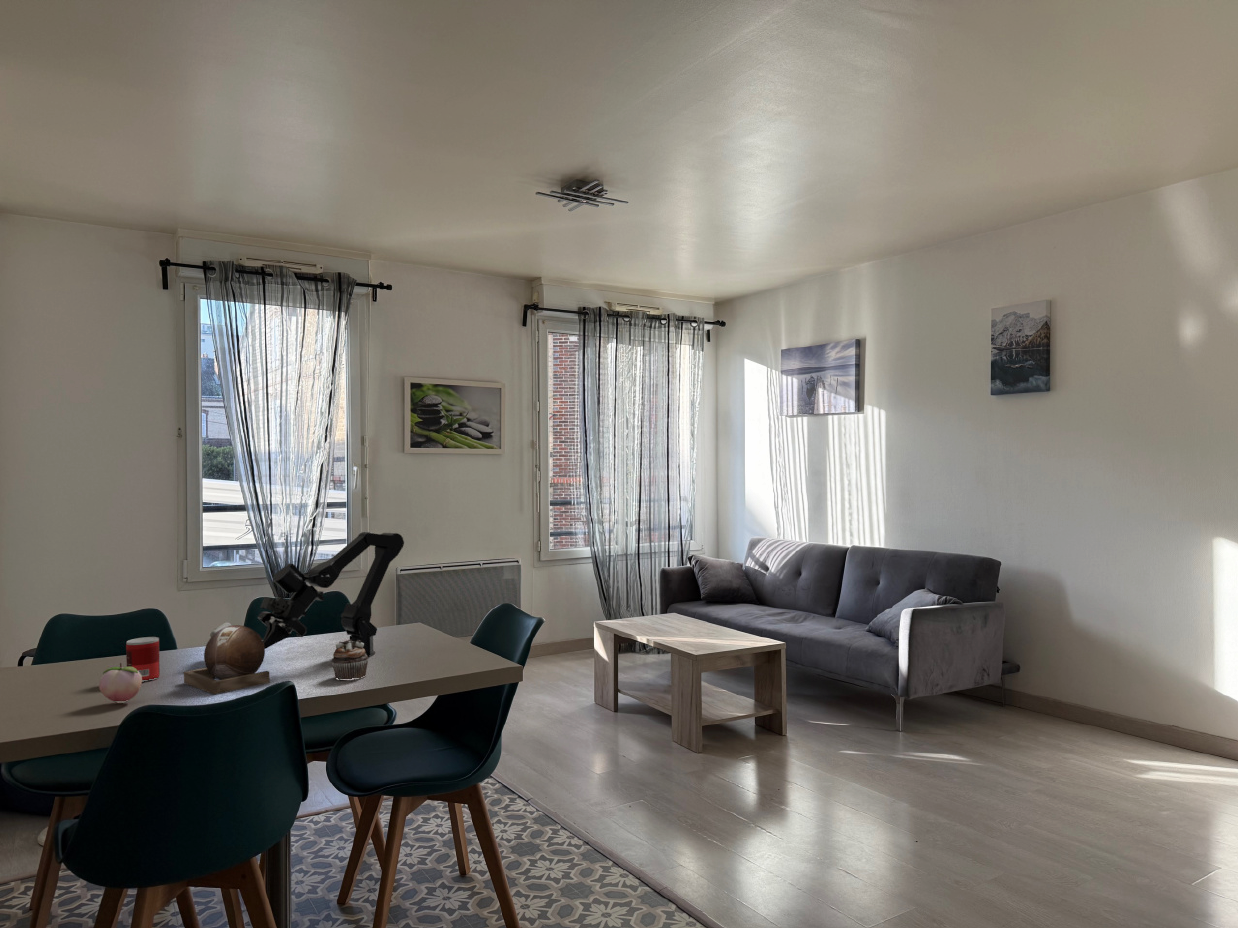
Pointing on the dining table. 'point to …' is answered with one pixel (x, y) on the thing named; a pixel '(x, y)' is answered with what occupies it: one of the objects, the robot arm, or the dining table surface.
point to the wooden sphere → (234, 652)
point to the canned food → (144, 656)
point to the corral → (223, 681)
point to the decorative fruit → (120, 683)
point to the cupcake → (350, 660)
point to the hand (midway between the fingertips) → (261, 648)
